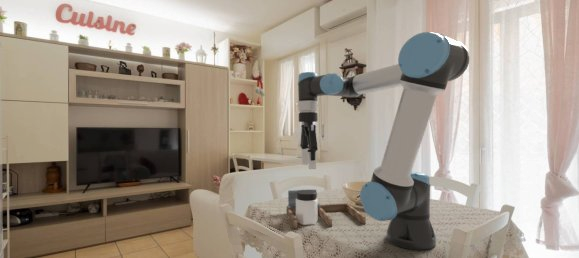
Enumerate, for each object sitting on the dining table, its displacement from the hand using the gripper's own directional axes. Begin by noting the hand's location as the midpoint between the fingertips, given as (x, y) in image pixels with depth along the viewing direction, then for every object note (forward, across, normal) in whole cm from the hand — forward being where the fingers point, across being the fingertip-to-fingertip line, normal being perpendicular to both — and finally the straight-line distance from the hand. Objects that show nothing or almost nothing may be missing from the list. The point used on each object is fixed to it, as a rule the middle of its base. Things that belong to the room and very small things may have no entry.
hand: (308, 166), depth 117 cm
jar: (+22, 0, +1) cm, 22 cm away
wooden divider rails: (+22, +2, -7) cm, 23 cm away
